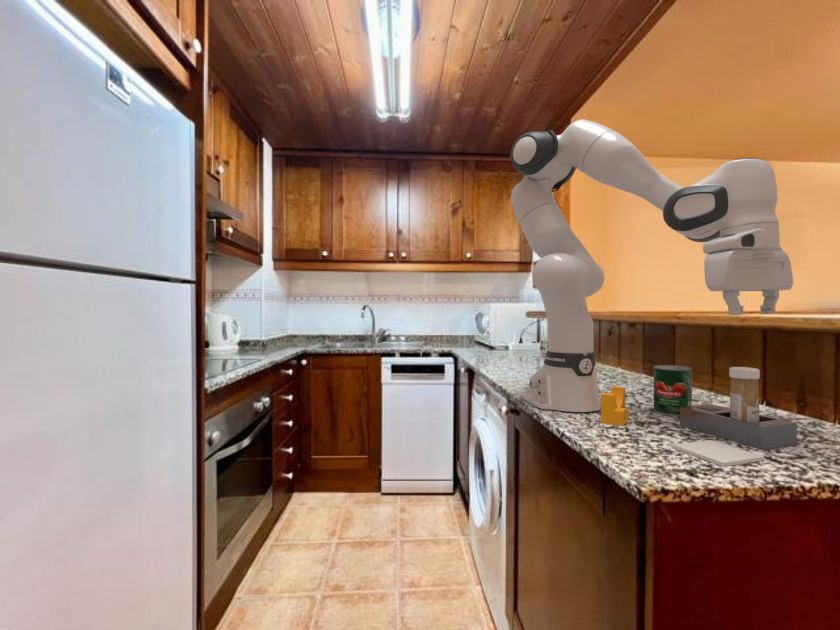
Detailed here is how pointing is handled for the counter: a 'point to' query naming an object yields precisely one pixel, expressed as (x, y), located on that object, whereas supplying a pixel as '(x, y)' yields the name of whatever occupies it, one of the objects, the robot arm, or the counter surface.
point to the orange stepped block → (614, 407)
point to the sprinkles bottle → (744, 394)
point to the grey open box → (739, 427)
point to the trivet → (718, 453)
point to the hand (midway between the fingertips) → (752, 314)
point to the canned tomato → (672, 389)
